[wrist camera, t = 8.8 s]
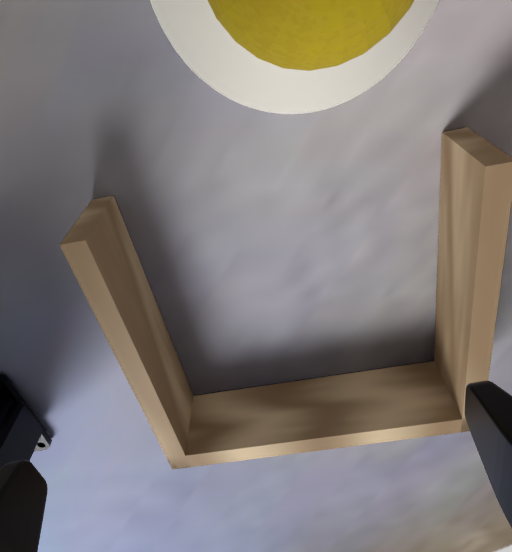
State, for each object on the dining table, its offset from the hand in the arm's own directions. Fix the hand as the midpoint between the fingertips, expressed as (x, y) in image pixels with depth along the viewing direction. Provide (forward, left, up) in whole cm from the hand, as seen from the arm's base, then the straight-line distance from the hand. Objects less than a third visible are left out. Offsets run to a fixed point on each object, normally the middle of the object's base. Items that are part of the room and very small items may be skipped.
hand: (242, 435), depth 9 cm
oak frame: (+1, -6, -13) cm, 14 cm away
